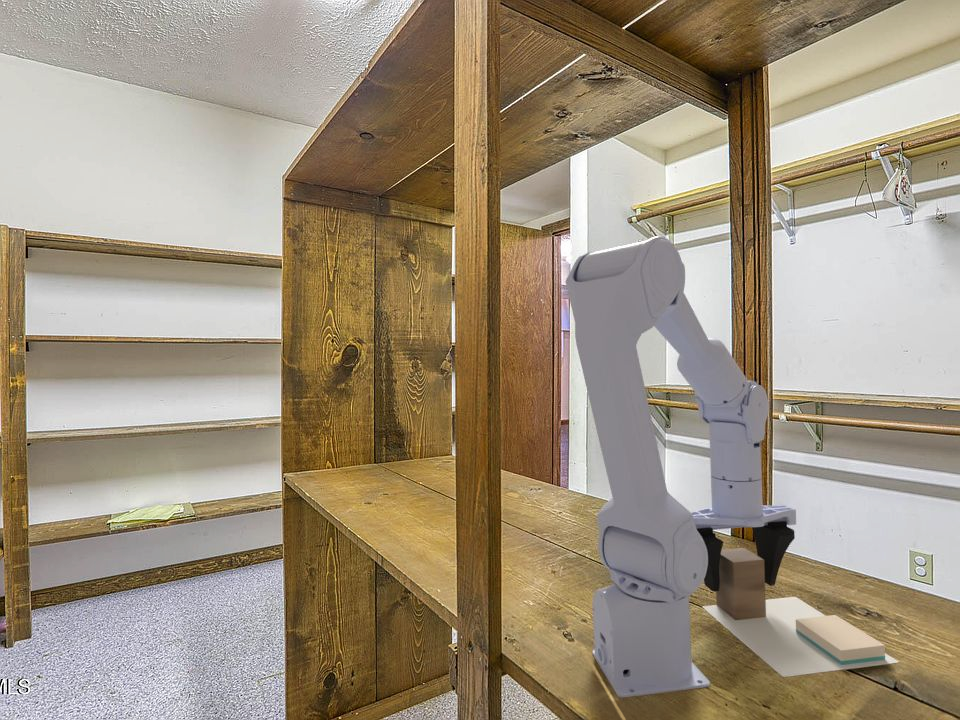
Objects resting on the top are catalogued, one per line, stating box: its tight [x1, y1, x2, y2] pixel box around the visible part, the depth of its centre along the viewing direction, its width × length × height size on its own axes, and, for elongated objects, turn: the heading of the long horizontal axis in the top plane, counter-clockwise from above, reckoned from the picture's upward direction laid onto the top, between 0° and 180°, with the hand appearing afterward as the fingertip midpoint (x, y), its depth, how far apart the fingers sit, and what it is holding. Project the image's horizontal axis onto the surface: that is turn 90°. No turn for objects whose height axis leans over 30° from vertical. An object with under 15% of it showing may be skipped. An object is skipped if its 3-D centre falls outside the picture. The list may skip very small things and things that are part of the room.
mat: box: [701, 596, 900, 678], centre depth 61 cm, size 13×15×1 cm
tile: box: [796, 614, 886, 665], centre depth 58 cm, size 5×2×6 cm
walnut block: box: [715, 547, 767, 620], centre depth 66 cm, size 4×4×7 cm
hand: (739, 585), depth 66 cm, fingers open, 7 cm apart
